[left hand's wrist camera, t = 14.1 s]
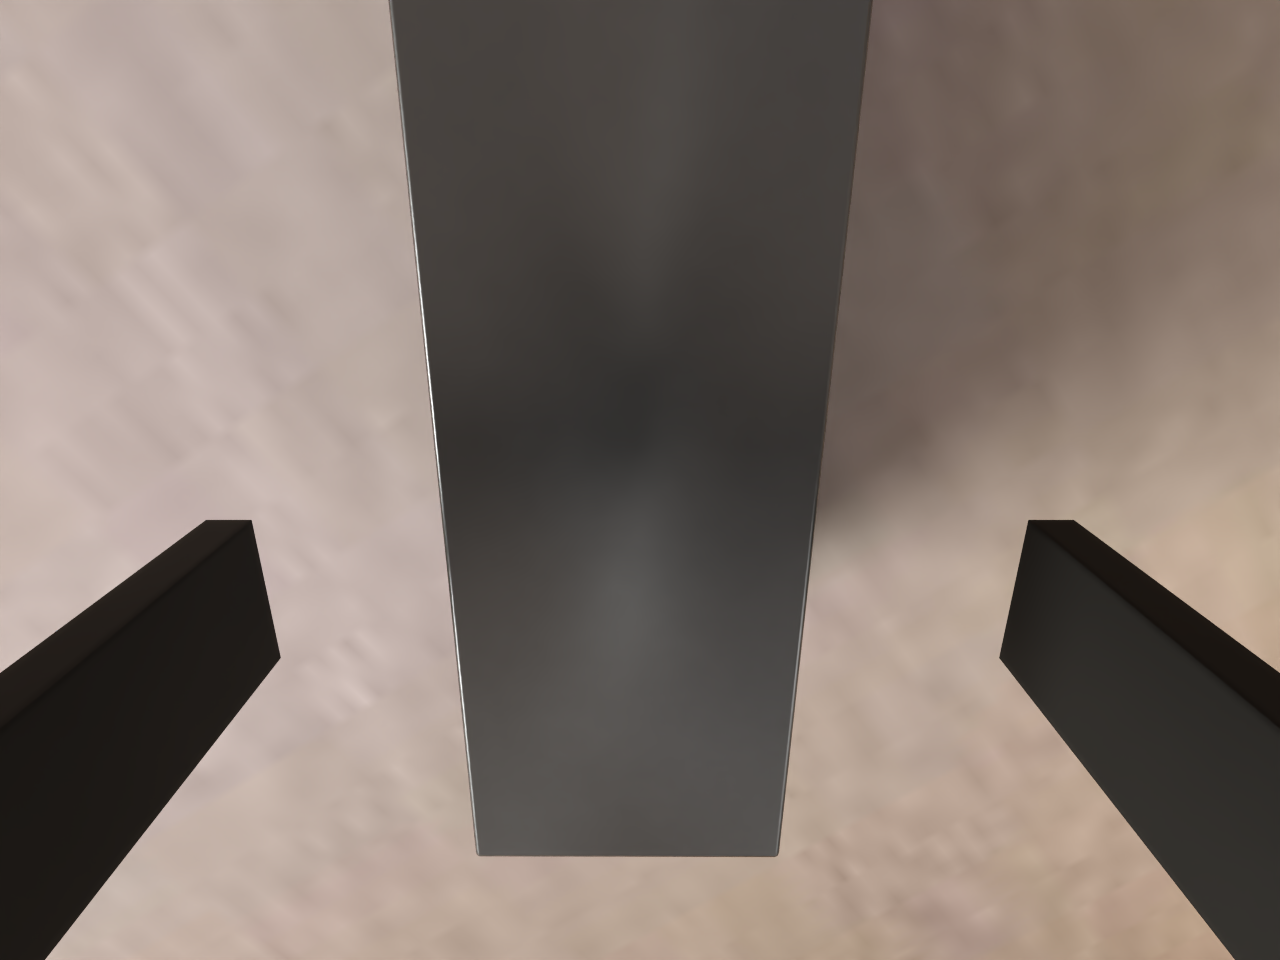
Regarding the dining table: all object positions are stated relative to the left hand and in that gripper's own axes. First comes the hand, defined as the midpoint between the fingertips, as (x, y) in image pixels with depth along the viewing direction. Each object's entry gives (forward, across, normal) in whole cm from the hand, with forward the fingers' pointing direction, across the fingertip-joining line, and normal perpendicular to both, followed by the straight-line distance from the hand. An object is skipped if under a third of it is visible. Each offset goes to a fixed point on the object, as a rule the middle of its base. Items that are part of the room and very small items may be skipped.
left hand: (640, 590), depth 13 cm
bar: (+5, 0, -13) cm, 14 cm away
